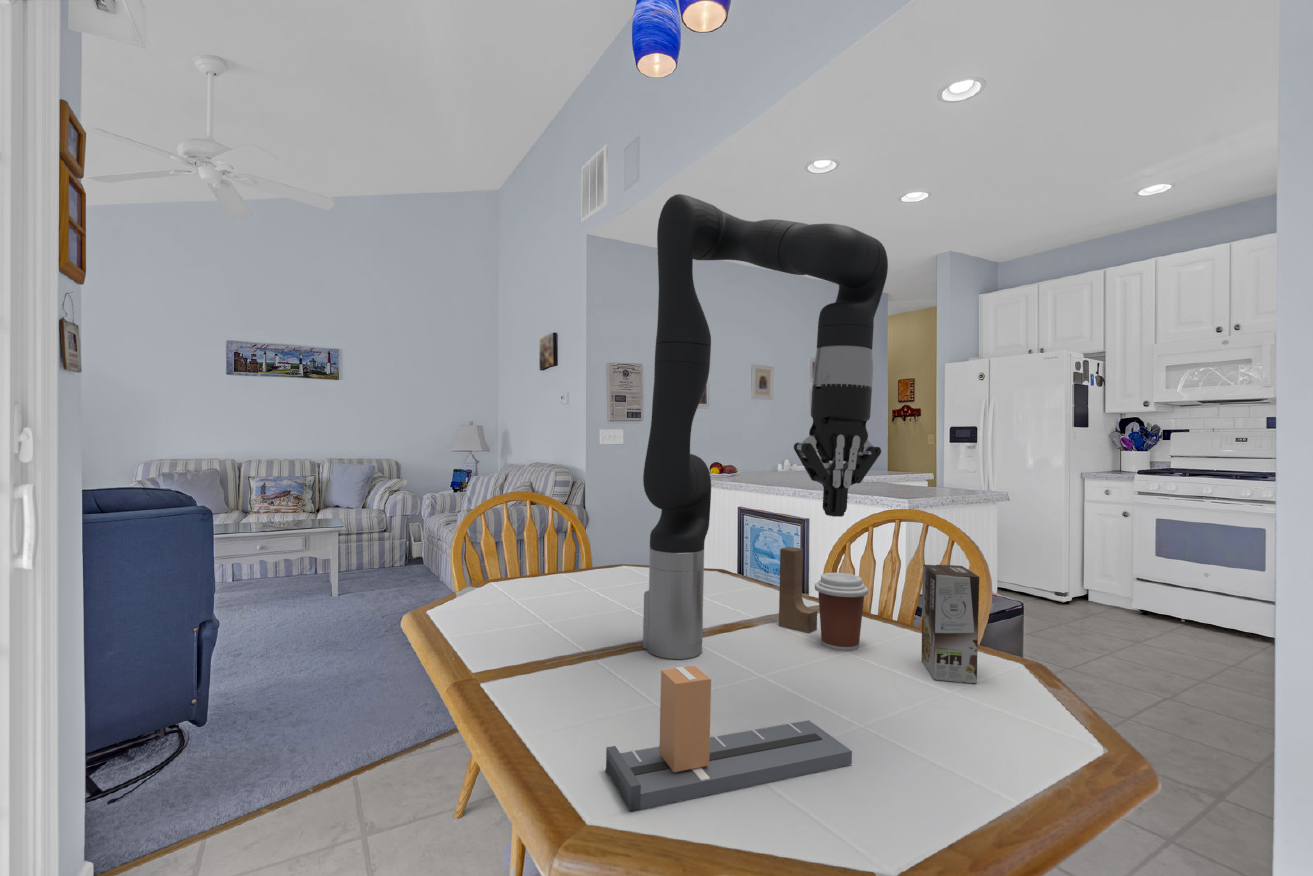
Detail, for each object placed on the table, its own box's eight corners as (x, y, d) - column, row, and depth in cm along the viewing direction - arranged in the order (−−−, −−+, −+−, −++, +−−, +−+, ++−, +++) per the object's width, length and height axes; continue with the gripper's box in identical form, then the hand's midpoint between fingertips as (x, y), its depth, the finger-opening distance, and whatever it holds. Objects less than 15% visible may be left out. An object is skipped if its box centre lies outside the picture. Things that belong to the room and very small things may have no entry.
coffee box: (978, 684, 93) (981, 576, 93) (932, 680, 94) (935, 574, 94) (961, 663, 102) (963, 564, 102) (919, 659, 103) (922, 562, 103)
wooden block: (778, 626, 120) (779, 548, 120) (786, 622, 123) (788, 546, 123) (809, 633, 116) (810, 553, 116) (817, 629, 118) (819, 550, 118)
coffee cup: (809, 648, 108) (811, 579, 107) (817, 633, 116) (818, 569, 116) (865, 656, 104) (866, 585, 104) (868, 640, 113) (870, 574, 113)
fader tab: (673, 772, 63) (675, 682, 63) (659, 753, 67) (661, 668, 67) (709, 765, 65) (711, 677, 65) (693, 747, 69) (694, 664, 69)
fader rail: (630, 811, 60) (630, 786, 60) (605, 769, 67) (606, 747, 67) (851, 764, 69) (852, 743, 69) (808, 732, 77) (809, 712, 77)
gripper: (862, 389, 88) (854, 512, 88) (783, 381, 83) (775, 511, 83) (902, 387, 81) (893, 520, 81) (818, 378, 76) (810, 520, 76)
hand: (834, 515), depth 82 cm, fingers closed
